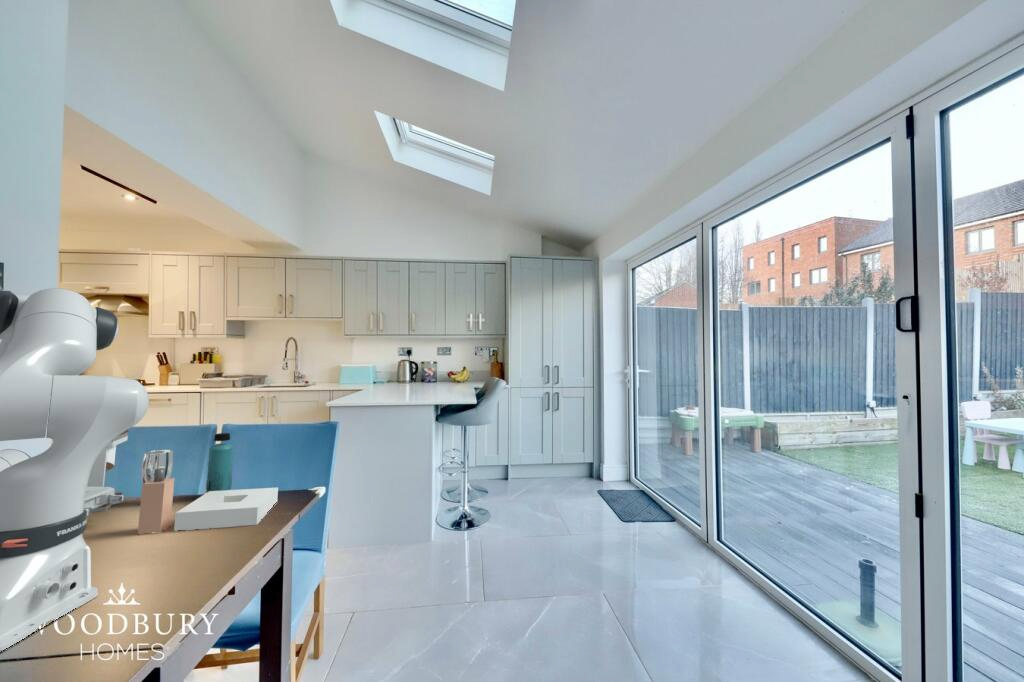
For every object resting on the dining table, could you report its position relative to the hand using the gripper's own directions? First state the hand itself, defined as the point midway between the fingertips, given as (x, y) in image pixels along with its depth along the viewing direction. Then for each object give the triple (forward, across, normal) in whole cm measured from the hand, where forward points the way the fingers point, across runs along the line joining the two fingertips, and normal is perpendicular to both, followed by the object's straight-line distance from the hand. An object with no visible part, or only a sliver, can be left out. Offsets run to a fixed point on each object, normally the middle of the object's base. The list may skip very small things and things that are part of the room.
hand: (106, 505), depth 95 cm
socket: (+24, +8, +7) cm, 26 cm away
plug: (+11, 0, +7) cm, 13 cm away
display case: (-18, +21, +7) cm, 28 cm away
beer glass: (-3, +23, +7) cm, 24 cm away
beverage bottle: (+12, +25, +7) cm, 29 cm away
